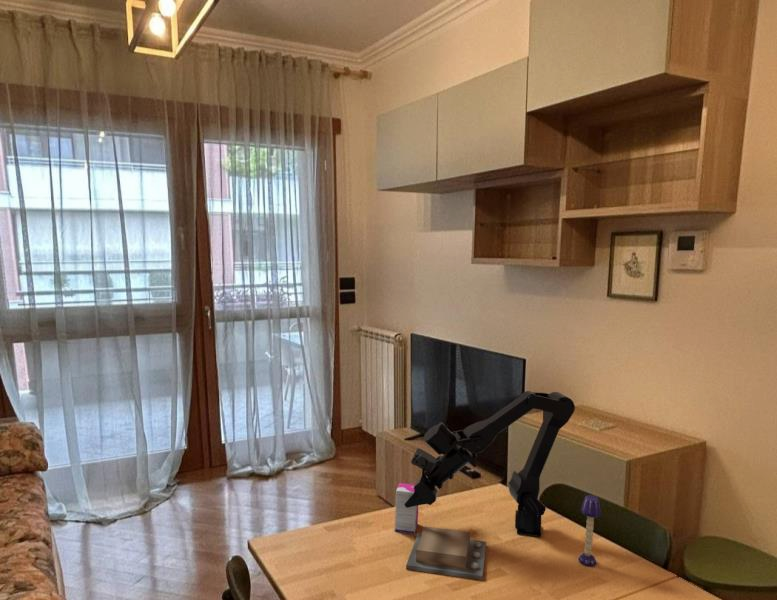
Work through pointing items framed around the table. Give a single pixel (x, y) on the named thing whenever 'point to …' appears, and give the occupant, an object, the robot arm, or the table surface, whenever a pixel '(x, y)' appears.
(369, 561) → the table surface
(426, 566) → the walnut brick base
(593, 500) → the toy lamp
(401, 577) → the table surface
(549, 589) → the table surface
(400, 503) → the supplement box
